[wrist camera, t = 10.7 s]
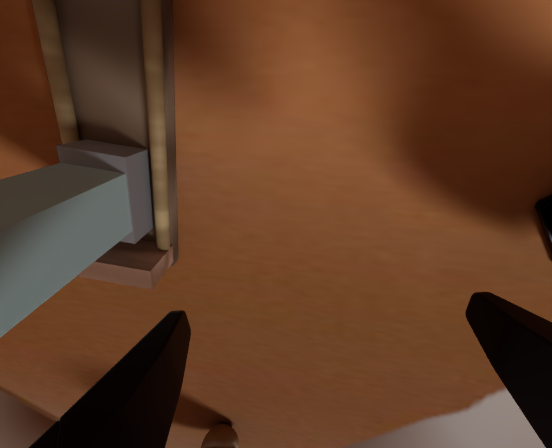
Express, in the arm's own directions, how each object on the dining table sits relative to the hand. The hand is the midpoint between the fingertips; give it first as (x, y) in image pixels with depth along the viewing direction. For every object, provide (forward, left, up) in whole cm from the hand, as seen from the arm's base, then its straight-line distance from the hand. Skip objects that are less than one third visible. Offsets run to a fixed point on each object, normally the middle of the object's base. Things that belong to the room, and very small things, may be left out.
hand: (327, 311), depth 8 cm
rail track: (+11, +8, -12) cm, 18 cm away
